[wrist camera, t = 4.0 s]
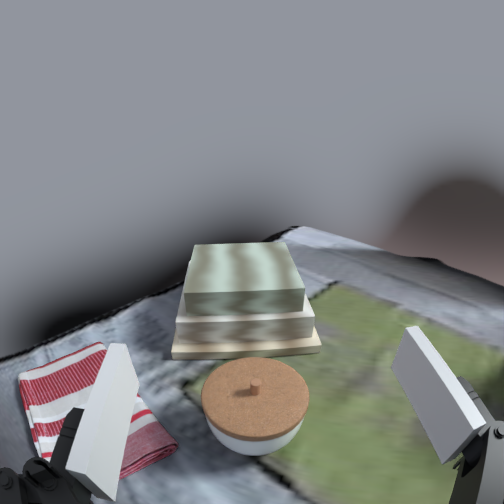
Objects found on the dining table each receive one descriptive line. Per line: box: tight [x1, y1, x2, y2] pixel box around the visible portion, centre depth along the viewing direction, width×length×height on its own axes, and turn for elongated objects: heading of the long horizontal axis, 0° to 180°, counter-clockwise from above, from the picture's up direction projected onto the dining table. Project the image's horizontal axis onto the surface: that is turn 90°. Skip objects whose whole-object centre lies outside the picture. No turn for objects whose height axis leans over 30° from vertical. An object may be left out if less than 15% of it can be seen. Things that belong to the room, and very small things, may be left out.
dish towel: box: [18, 342, 179, 480], centre depth 30 cm, size 17×23×3 cm
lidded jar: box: [201, 357, 309, 456], centre depth 29 cm, size 11×11×9 cm
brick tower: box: [171, 242, 322, 360], centre depth 51 cm, size 22×24×10 cm
